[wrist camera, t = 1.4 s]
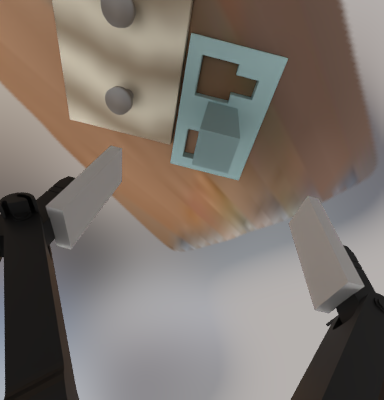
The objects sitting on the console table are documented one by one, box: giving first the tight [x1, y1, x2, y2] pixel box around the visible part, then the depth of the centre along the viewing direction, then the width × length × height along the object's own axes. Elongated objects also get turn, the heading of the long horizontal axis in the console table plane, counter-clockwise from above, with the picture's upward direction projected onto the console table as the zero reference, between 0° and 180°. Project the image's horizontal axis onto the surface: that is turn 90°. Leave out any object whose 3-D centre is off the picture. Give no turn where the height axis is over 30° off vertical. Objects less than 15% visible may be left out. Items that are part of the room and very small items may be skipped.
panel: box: [170, 33, 288, 180], centre depth 24 cm, size 15×10×10 cm, turn 168°
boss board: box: [52, 0, 193, 145], centre depth 23 cm, size 18×14×4 cm
